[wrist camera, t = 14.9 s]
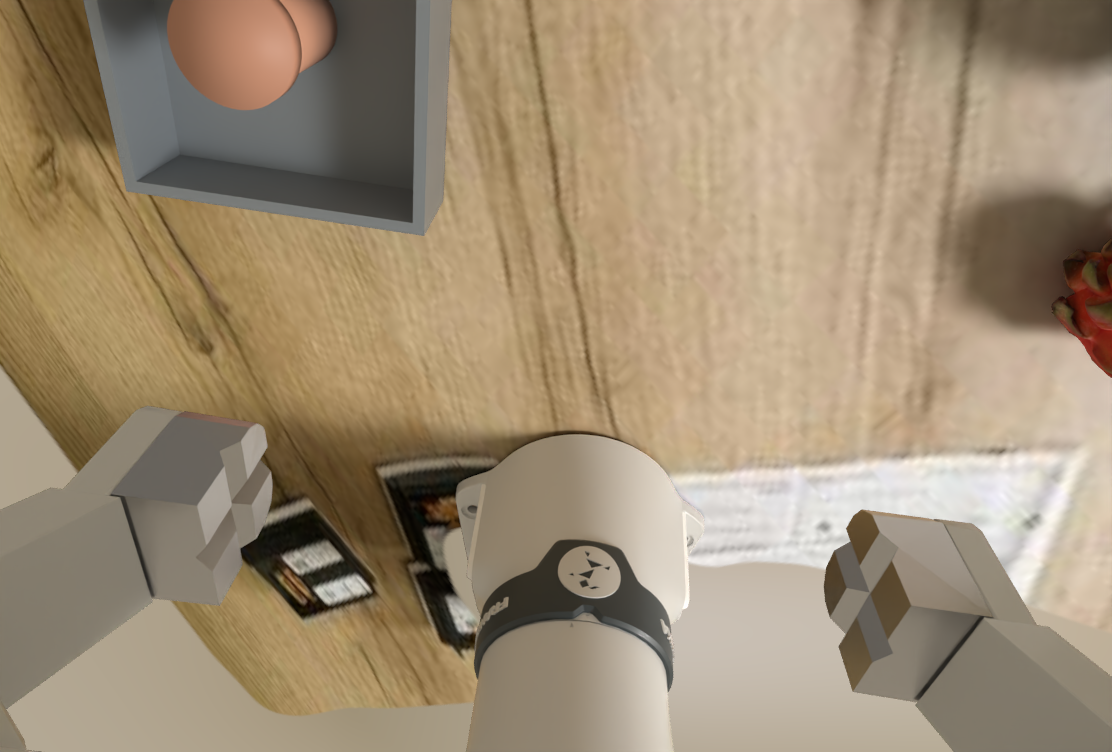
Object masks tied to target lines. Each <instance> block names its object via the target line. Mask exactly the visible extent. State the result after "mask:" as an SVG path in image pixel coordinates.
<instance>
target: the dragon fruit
mask: <svg viewBox="0 0 1112 752" xmlns="http://www.w3.org/2000/svg"><path fill="white" fill-rule="evenodd" d="M1063 269H1064V277H1065V280H1066V283H1067V285H1068V287H1069V288H1071V289H1072V290H1073V291H1074V292H1075V293H1074V294H1073V295H1071V296H1069V297H1068V298H1066V299H1065V298H1064V297H1063V296H1060V297H1059V298H1058V299H1057V300H1056V301H1055V302H1054V303H1053V304H1052V310H1053V312H1052V313H1053V314H1054V315H1055V317H1056V318H1057V319H1058V320H1059V321H1060V322H1061V323H1062V324H1063V325H1064V326H1065V327H1066V329H1067V330H1068V332H1069V333H1071V334H1073V335H1074V336H1076V337H1077V338H1078V339H1079V340H1080V341H1081V343H1082V344H1083V345H1084V346H1085V349H1086V350H1087V352H1088V354H1089V355H1090V357H1091V359H1092V361H1093V362H1094V363H1095V364H1096V365H1097V366H1098V367H1099V368H1101V369H1102V370H1103V371H1104V372H1105V373H1106V374H1107V375H1108V376H1110V377H1111V378H1112V238H1111V239H1110V240H1109V241H1108V242H1107V243H1106V244H1105V245H1104V246H1103V248H1102V250H1101V253H1097V252H1087V251H1083V250H1080V249H1077V251H1076V252H1075V253H1073V254H1071V255H1070V256H1069V257H1068V258H1067V259H1066V260H1064V261H1063Z"/></svg>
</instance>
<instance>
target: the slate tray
mask: <svg viewBox="0 0 1112 752" xmlns="http://www.w3.org/2000/svg"><path fill="white" fill-rule="evenodd" d="M83 1H84V6H85V10H86V14H87V19H88V23H89V28H90V32H91V36H92V41H93V45H94V50H95V54H96V58H97V63H98V67H99V72H100V76H101V80H102V85H103V89H104V94H105V98H106V102H107V107H108V111H109V116H110V120H111V124H112V129H113V133H114V138H115V142H116V147H117V151H118V155H119V160H120V164H121V169H122V173H123V177H124V182H125V186H126V191H128V192H135V193H142V194H148V195H155V196H162V197H168V198H175V199H182V200H188V201H195V202H202V203H208V204H215V205H222V206H228V207H235V208H242V209H248V210H255V211H262V212H268V213H275V214H282V215H288V216H295V217H302V218H308V219H315V220H322V221H328V222H335V223H342V224H348V225H355V226H362V227H368V228H375V229H382V230H389V231H395V232H402V233H409V234H415V235H422V236H424V235H425V233H426V232H427V230H428V228H429V226H430V224H431V222H432V220H433V219H434V217H435V215H436V213H437V211H438V209H439V207H440V206H441V204H442V202H443V194H444V170H445V146H446V122H447V98H448V74H449V50H450V26H451V3H452V0H329V1H330V3H331V5H332V7H333V9H334V12H335V15H336V19H337V38H336V42H335V44H334V47H333V49H332V50H331V52H330V53H329V54H328V55H327V56H326V57H325V58H324V59H323V60H321V61H319V62H318V63H316V64H314V65H313V66H311V67H309V68H308V69H306V70H304V71H302V72H301V73H299V74H298V77H297V79H296V81H295V83H294V84H293V86H292V87H291V88H290V89H289V91H288V92H286V93H285V94H284V95H283V96H281V97H280V98H278V99H277V100H275V101H273V102H272V103H270V104H269V105H267V106H264V107H262V108H258V109H254V110H237V109H231V108H228V107H225V106H222V105H220V104H217V103H215V102H213V101H212V100H210V99H208V98H207V97H205V96H204V95H203V94H201V93H200V92H199V91H198V90H197V89H196V88H194V87H193V86H192V84H191V83H190V82H189V81H188V80H187V79H186V77H185V76H184V75H183V73H182V72H181V70H180V69H179V67H178V65H177V63H176V61H175V59H174V57H173V54H172V52H171V49H170V45H169V41H168V34H167V20H168V14H169V10H170V7H171V4H172V2H173V0H83Z"/></svg>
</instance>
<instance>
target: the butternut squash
mask: <svg viewBox="0 0 1112 752" xmlns="http://www.w3.org/2000/svg"><path fill="white" fill-rule="evenodd" d="M167 34H168V41H169V45H170V49H171V52H172V54H173V57H174V59H175V61H176V63H177V65H178V67H179V69H180V70H181V72H182V73H183V75H184V76H185V77H186V79H187V80H188V81H189V82H190V83H191V84H192V86H193V87H194V88H196V89H197V90H198V91H199V92H200V93H201V94H203V95H204V96H205V97H207V98H208V99H210V100H212V101H213V102H215V103H217V104H220V105H222V106H225V107H228V108H231V109H237V110H254V109H258V108H262V107H264V106H267V105H269V104H270V103H272V102H273V101H275V100H277V99H278V98H280V97H281V96H283V95H284V94H285V93H286V92H288V91H289V89H290V88H291V87H292V86H293V84H294V83H295V81H296V79H297V77H298V74H299V73H301V72H302V71H304V70H306V69H308V68H309V67H311V66H313V65H314V64H316V63H318V62H319V61H321V60H323V59H324V58H325V57H326V56H327V55H328V54H329V53H330V52H331V50H332V49H333V47H334V44H335V42H336V38H337V19H336V15H335V12H334V9H333V7H332V5H331V3H330V1H329V0H173V2H172V4H171V7H170V10H169V14H168V20H167Z"/></svg>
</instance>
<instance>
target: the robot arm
mask: <svg viewBox="0 0 1112 752" xmlns="http://www.w3.org/2000/svg"><path fill="white" fill-rule="evenodd" d="M267 447H268V446H267V440H266V435H265V430H264V427H262V426H261V425H259V424H258V423H252V422H246V421H240V420H234V419H228V418H222V417H216V416H210V415H204V414H198V413H192V412H186V411H185V412H181V411H175V410H169V409H164V408H158V407H152V406H146V407H143V408H140V409H138V410H136V411H135V412H134V413H133V414H132V415H131V416H130V417H129V418H128V419H127V420H126V421H125V423H124V424H123V425H122V426H121V427H120V428H119V429H118V430H117V431H116V432H115V433H114V434H113V436H112V437H111V438H110V439H109V440H108V441H107V442H106V443H105V444H104V445H103V446H102V447H101V449H100V450H99V451H98V452H97V453H96V454H95V455H94V456H93V457H92V458H91V459H90V460H89V462H88V463H87V464H86V465H85V466H84V467H83V468H82V469H81V470H80V471H79V472H78V474H77V475H76V476H75V477H74V478H73V479H72V480H71V481H70V482H69V483H68V484H67V485H66V487H65V488H64V489H57V488H49V489H47V490H44V491H42V492H40V493H38V494H35V495H33V496H31V497H29V498H26V499H24V500H22V501H19V502H17V503H15V504H13V505H10V506H8V507H6V508H3V509H1V510H0V752H40V751H32V750H26V745H25V741H24V738H23V737H22V735H21V733H20V732H19V730H18V728H17V727H16V725H15V723H14V722H13V720H12V718H11V717H10V715H9V713H8V712H7V710H6V709H7V708H8V707H10V706H11V705H12V704H14V703H15V702H17V701H18V700H19V699H21V698H22V697H24V696H25V695H26V694H28V693H29V692H30V691H32V690H33V689H34V688H36V687H37V686H39V685H40V684H41V683H43V682H44V681H45V680H47V679H48V678H50V677H51V676H52V675H54V674H55V673H56V672H58V671H59V670H60V669H62V668H63V667H65V666H66V665H67V664H69V663H70V662H71V661H73V660H74V659H75V658H77V657H78V656H80V655H81V654H82V653H84V652H85V651H86V650H88V649H89V648H91V647H92V646H93V645H95V644H96V643H97V642H99V641H100V640H101V639H103V638H104V637H106V636H107V635H108V634H110V633H111V632H112V631H114V630H115V629H116V628H118V627H119V626H120V625H122V624H123V623H125V622H126V621H127V620H129V619H130V618H132V617H133V616H134V615H136V614H137V613H138V612H140V611H141V610H142V609H144V608H145V607H147V606H148V605H149V604H151V603H152V598H154V599H164V600H172V601H182V602H191V603H200V604H209V605H219V606H220V604H221V603H222V601H223V599H224V597H225V595H226V594H227V592H228V590H229V588H230V586H231V584H232V583H233V581H234V579H235V577H236V575H237V574H238V572H239V570H240V568H241V566H242V565H243V564H242V558H241V553H240V548H242V547H243V546H245V545H246V544H248V543H250V542H251V541H253V540H255V539H256V538H257V537H258V535H259V533H260V531H261V529H262V527H263V525H264V523H265V521H266V518H267V515H268V511H269V508H270V504H271V500H272V485H273V484H272V476H271V471H270V470H269V469H268V467H267V466H266V465H265V464H264V463H263V462H262V461H261V460H260V458H261V457H262V455H263V453H264V452H265V450H266V448H267ZM456 504H457V509H458V514H459V519H460V524H461V529H462V534H463V539H464V544H465V549H466V554H467V559H468V566H467V577H468V578H469V579H470V580H472V587H473V592H474V596H475V600H476V604H477V609H478V611H479V613H480V616H481V619H480V623H479V626H478V628H477V633H476V639H475V659H474V668H475V673H476V677H477V679H478V683H477V689H476V694H475V700H474V707H473V712H472V718H471V724H470V730H469V736H468V743H467V748H466V752H674V748H673V741H672V733H671V724H670V715H669V704H668V691H669V689H670V688H671V685H672V680H673V663H674V644H673V639H672V636H671V625H672V624H673V623H674V622H675V621H678V620H679V618H680V615H681V612H682V610H683V609H685V608H687V607H688V603H689V575H688V556H689V554H690V553H691V551H692V550H693V548H694V547H695V545H696V544H697V543H698V541H699V540H700V538H701V537H702V535H703V533H704V517H703V516H702V514H701V513H700V512H699V511H698V510H696V509H695V508H694V507H693V506H691V505H690V504H688V503H687V502H686V501H684V500H683V499H681V497H680V496H679V495H678V493H677V492H676V490H675V488H674V486H673V484H672V482H671V480H670V479H669V477H668V475H667V474H666V473H665V471H664V470H663V469H662V468H661V467H660V466H659V465H658V464H657V463H656V462H655V461H654V460H653V459H652V458H650V457H649V456H648V455H646V454H645V453H643V452H642V451H640V450H638V449H636V448H634V447H632V446H630V445H628V444H625V443H623V442H620V441H617V440H614V439H610V438H606V437H601V436H594V435H582V434H572V435H560V436H554V437H549V438H544V439H541V440H538V441H535V442H532V443H530V444H527V445H525V446H523V447H521V448H520V449H518V450H516V451H515V452H513V453H512V454H510V455H509V456H508V457H507V458H505V459H504V460H503V461H502V462H501V463H500V464H498V465H497V466H496V467H495V468H493V469H492V470H490V471H488V472H485V473H481V474H478V475H475V476H472V477H470V478H467V479H465V480H463V481H461V482H460V483H459V484H458V486H457V489H456ZM471 505H474V506H471ZM475 506H476V507H475ZM846 530H847V532H848V535H849V538H850V541H851V542H849V543H847V544H845V545H844V546H842V547H840V548H838V549H836V550H835V551H834V552H833V555H832V557H831V559H830V561H829V563H828V565H827V567H826V574H825V581H824V593H825V602H826V606H827V609H828V613H829V616H830V618H831V619H832V620H833V621H834V622H835V623H836V624H837V625H838V626H839V627H840V628H841V629H842V631H844V633H845V635H844V637H843V639H842V641H841V643H840V645H839V649H840V652H841V656H842V659H843V662H844V665H845V668H846V671H847V675H848V678H849V681H850V684H851V688H852V691H853V692H857V693H863V694H869V695H876V696H881V697H888V698H894V699H900V700H906V701H912V702H917V704H916V707H917V708H918V709H919V710H920V711H921V713H922V714H923V715H924V716H925V717H926V719H927V720H928V721H929V722H930V723H931V725H932V726H933V727H934V728H935V730H936V731H937V732H938V733H939V734H940V736H941V737H942V738H943V739H944V740H945V742H946V743H947V744H948V745H949V747H950V748H951V749H952V750H953V751H954V752H1112V676H1110V675H1109V674H1108V673H1107V672H1105V671H1104V670H1103V669H1101V668H1100V667H1099V666H1098V665H1096V664H1095V663H1094V662H1093V661H1091V660H1090V659H1089V658H1087V657H1086V656H1085V655H1084V654H1083V653H1081V652H1080V651H1079V650H1077V649H1076V648H1075V647H1074V646H1072V645H1071V644H1070V643H1069V642H1067V641H1066V640H1065V639H1064V638H1062V637H1061V636H1060V635H1059V634H1057V633H1056V632H1055V631H1053V630H1052V629H1051V628H1050V627H1046V626H1040V625H1037V624H1036V622H1035V621H1034V619H1033V617H1032V616H1031V614H1030V612H1029V611H1028V609H1027V607H1026V606H1025V604H1024V602H1023V600H1022V599H1021V597H1020V595H1019V594H1018V592H1017V590H1016V589H1015V587H1014V585H1013V583H1012V582H1011V580H1010V578H1009V577H1008V575H1007V573H1006V572H1005V570H1004V568H1003V567H1002V565H1001V563H1000V561H999V560H998V558H997V556H996V555H995V553H994V551H993V550H992V548H991V546H990V544H989V543H988V541H987V539H986V538H985V536H984V534H983V533H982V531H981V530H980V529H978V528H977V527H976V526H975V525H973V524H971V523H963V522H955V521H947V520H939V519H934V520H932V519H928V518H921V517H913V516H906V515H898V514H891V513H884V512H876V511H869V510H860V511H859V512H858V513H857V514H855V515H854V516H853V518H852V519H851V521H850V523H849V525H848V526H847V528H846Z"/></svg>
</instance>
